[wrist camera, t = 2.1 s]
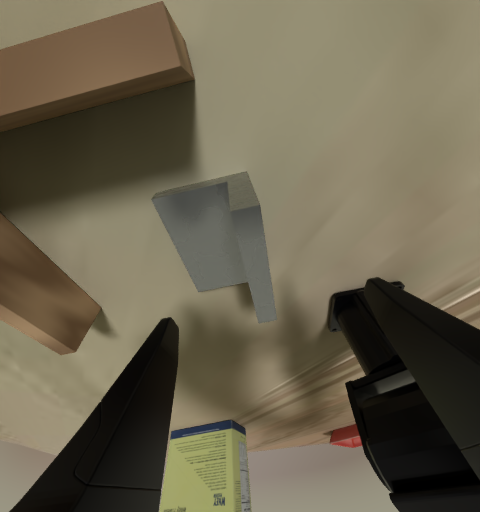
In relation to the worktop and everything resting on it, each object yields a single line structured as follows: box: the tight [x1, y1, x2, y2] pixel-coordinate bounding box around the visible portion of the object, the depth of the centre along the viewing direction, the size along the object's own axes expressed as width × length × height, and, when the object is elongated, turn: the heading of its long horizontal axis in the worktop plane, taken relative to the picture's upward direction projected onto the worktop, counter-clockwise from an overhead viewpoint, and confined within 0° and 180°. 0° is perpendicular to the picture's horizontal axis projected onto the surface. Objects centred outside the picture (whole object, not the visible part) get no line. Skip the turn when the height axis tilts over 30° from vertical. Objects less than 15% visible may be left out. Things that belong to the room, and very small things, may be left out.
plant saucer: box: [330, 424, 362, 448], centre depth 60 cm, size 18×18×3 cm
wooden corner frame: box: [0, 1, 195, 355], centre depth 11 cm, size 14×15×4 cm
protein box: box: [159, 420, 251, 512], centre depth 42 cm, size 10×16×16 cm
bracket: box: [151, 171, 277, 323], centre depth 12 cm, size 8×6×5 cm
